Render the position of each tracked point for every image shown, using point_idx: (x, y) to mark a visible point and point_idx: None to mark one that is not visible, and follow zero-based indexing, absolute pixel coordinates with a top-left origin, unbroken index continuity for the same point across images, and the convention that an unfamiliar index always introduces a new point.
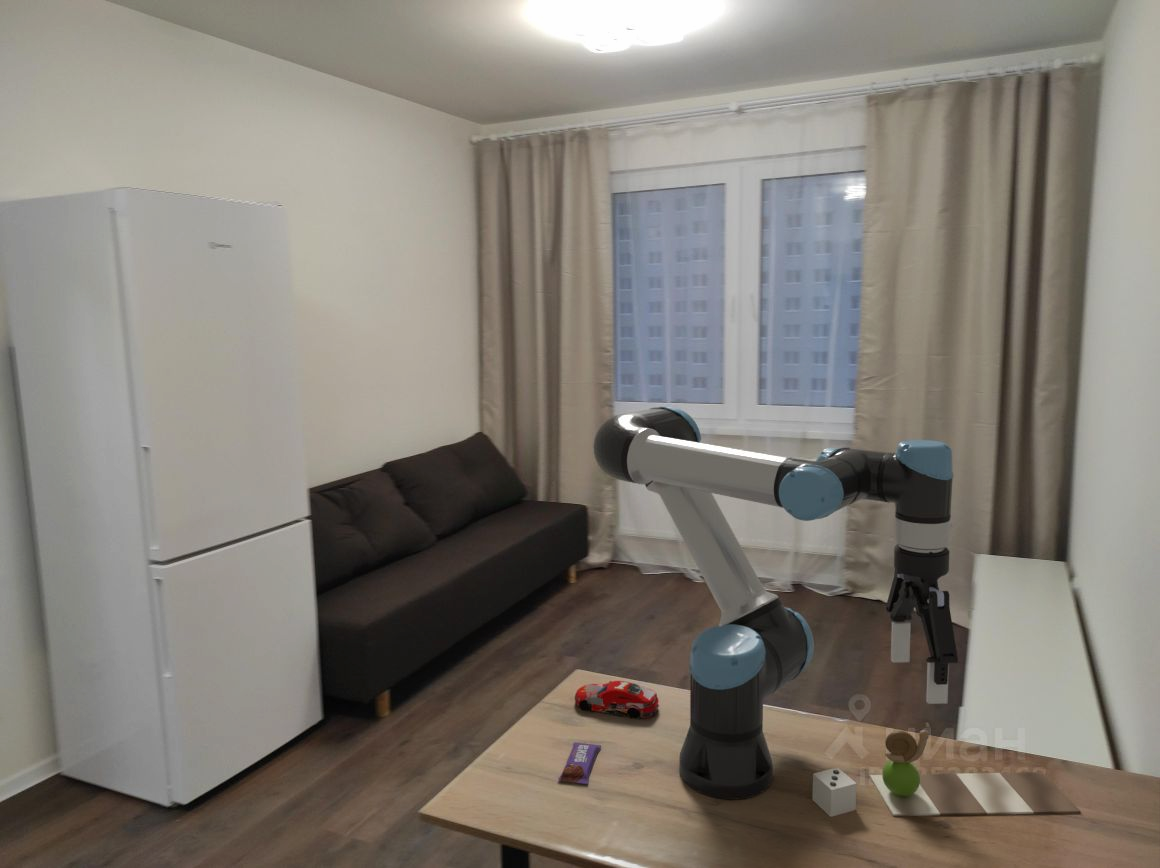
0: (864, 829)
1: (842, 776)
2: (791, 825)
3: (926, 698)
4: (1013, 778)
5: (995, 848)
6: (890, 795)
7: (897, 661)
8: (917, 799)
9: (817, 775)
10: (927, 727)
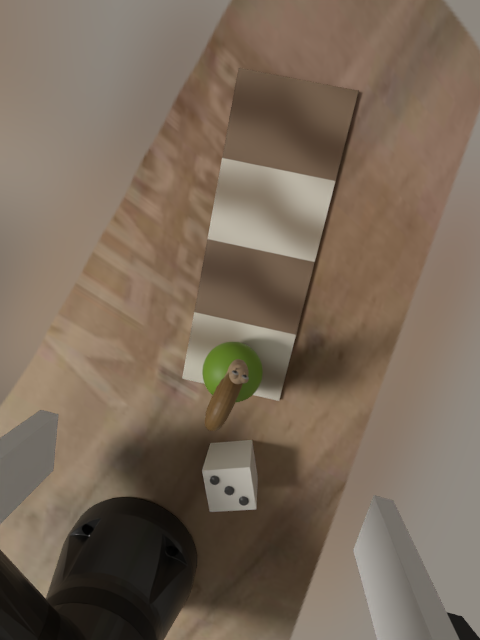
0: (294, 451)
1: (227, 476)
2: (261, 529)
3: (357, 561)
4: (243, 143)
5: (386, 305)
6: None
7: (52, 456)
8: (256, 346)
9: (215, 508)
10: (246, 382)
